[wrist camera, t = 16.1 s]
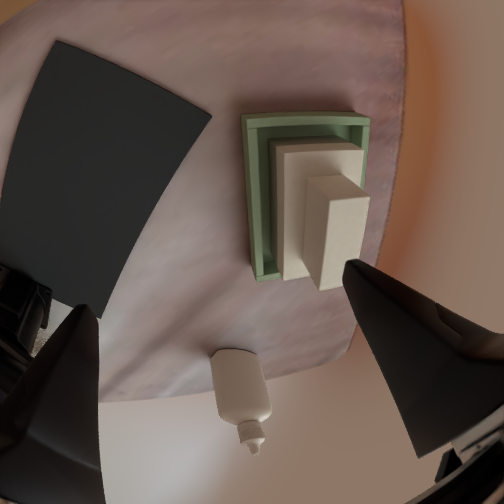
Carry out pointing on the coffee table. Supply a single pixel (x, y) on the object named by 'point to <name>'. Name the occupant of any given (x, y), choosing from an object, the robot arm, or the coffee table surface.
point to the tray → (257, 173)
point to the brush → (315, 206)
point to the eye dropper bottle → (241, 394)
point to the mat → (88, 172)
